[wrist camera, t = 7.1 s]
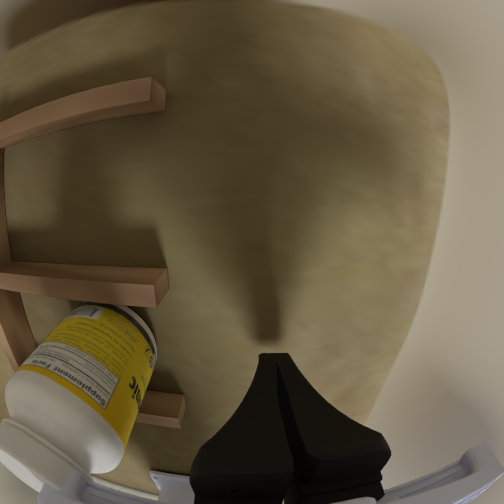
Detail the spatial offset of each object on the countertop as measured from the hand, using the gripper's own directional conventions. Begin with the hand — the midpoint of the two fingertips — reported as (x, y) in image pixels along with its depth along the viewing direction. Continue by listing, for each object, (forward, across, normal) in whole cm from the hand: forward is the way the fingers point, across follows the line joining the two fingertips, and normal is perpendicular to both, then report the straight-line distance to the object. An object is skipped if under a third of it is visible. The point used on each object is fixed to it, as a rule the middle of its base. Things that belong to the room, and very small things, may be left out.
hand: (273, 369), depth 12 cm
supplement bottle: (+2, +8, 0) cm, 9 cm away
